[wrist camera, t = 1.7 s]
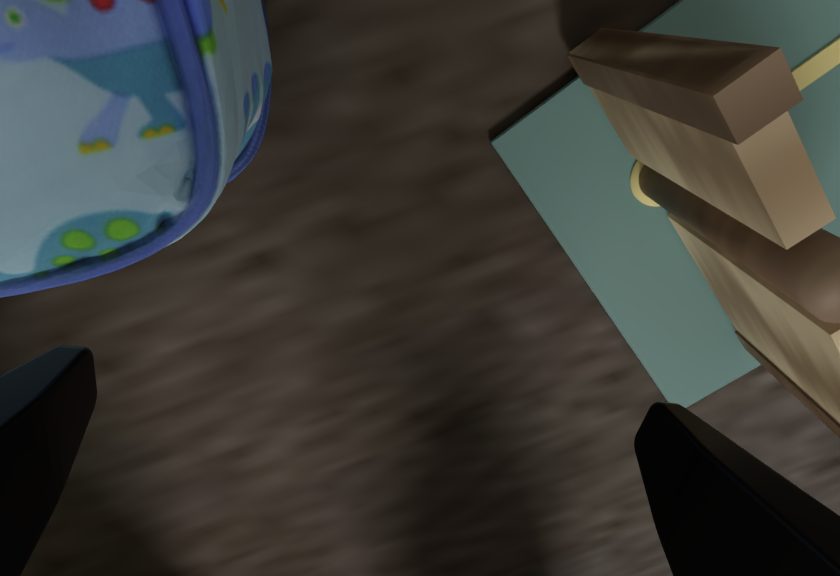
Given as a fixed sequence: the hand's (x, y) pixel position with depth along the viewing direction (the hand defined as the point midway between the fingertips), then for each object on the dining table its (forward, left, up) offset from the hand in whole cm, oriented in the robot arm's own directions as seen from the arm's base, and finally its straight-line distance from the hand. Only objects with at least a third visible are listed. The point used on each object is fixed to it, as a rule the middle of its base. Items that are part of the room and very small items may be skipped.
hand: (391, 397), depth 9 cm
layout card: (-10, -10, -14) cm, 20 cm away
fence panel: (-12, -8, -13) cm, 20 cm away
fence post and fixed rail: (-4, -8, -14) cm, 16 cm away
